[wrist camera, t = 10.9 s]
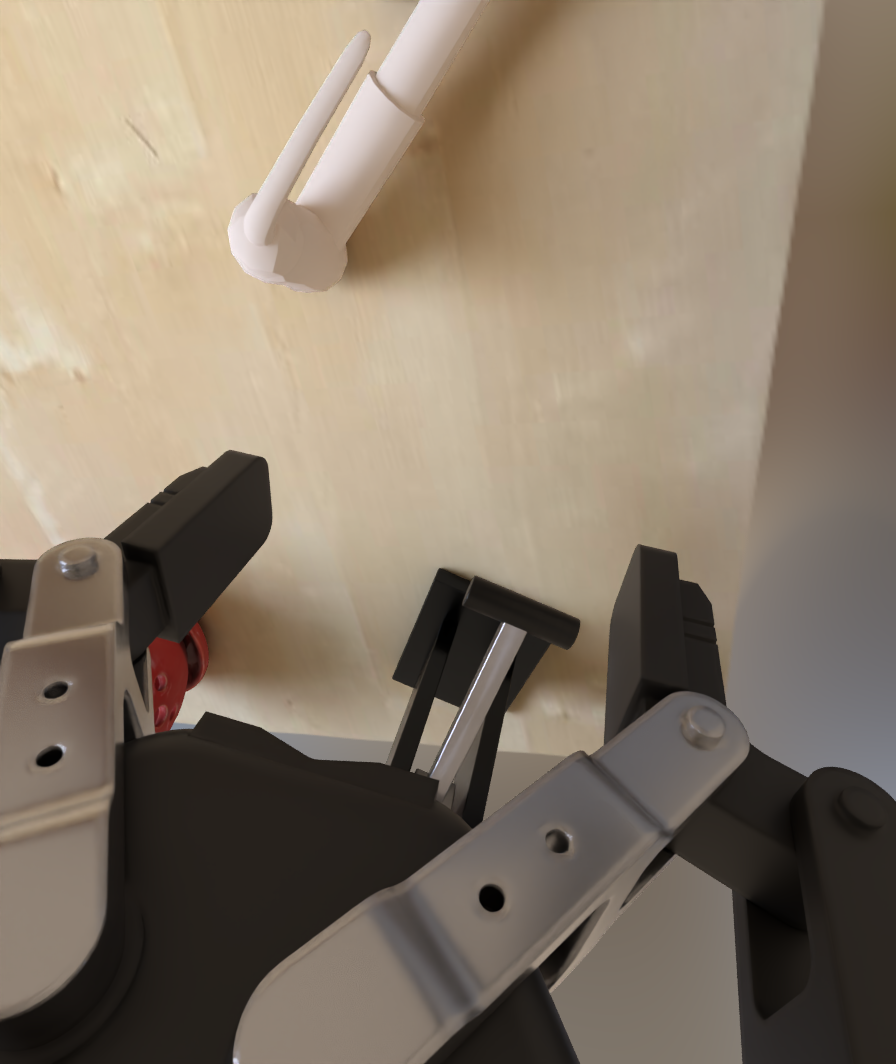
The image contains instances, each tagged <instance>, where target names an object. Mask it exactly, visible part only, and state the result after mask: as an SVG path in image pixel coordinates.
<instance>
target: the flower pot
mask: <svg viewBox="0 0 896 1064" xmlns="http://www.w3.org/2000/svg"><path fill="white" fill-rule="evenodd" d="M148 648H149V651H150V656H151V672H152V690H153V709H154V726H155V733H158V732H163V731H169V730H170V729H171V727H172V725H173V723H174V721H175V719H176V717H177V716H178V713H179V711H180V708H181V705H182V702H183V699H184V695H185V692H186V691H188V690H191V689H192V688H194V687H195V686H196V685H197V684H198V683H199V682H200V681H201V680H202V678H203V676H204V674H205V672H206V670H207V667H208V660H209V652H208V645H207V642H206V638H205V636H204V633H203V631H202V629H201V627H200V626H199V624H198V622H197V623H196V624H195V626H194V627H193V628H192V629H191V630H190V631H189V633H188V634H187V635H186V636H185V637H184V639H183V640H182V641H181V642H180V643H176V642H172V641H169V640H165V639H162V638H158V637H156V639H155V640H154V641H153V642H152V643H151V644H150V645H149V646H148Z"/></svg>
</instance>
